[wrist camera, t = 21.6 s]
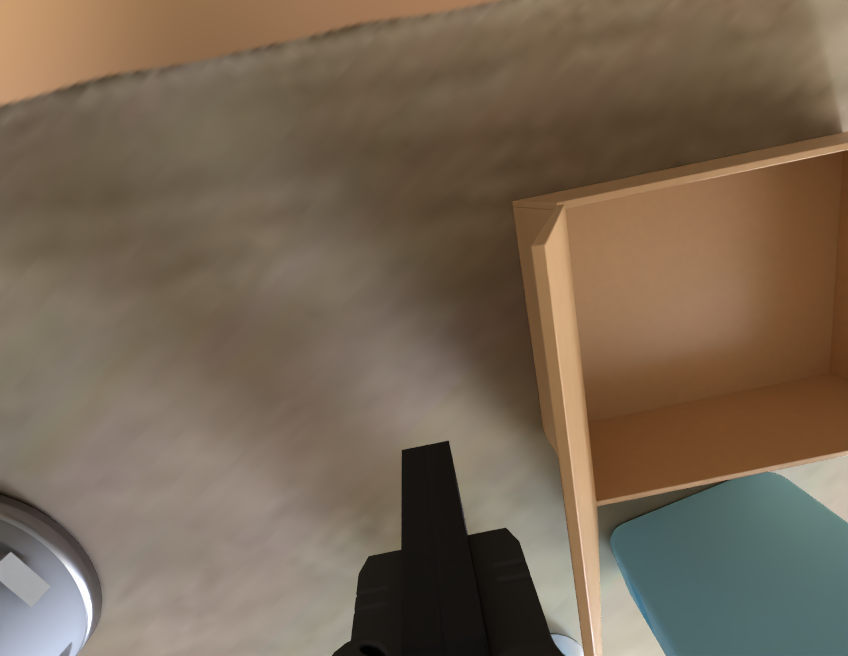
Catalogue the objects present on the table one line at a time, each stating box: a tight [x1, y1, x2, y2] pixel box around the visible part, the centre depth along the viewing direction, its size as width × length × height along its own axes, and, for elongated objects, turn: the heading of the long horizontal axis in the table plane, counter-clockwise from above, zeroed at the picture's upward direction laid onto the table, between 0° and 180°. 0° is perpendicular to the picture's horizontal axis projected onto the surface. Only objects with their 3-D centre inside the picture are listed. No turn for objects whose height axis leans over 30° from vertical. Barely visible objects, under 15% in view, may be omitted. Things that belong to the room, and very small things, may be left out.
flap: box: [531, 204, 602, 656], centre depth 15 cm, size 9×14×1 cm
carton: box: [512, 132, 848, 506], centre depth 23 cm, size 19×15×7 cm
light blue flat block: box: [610, 472, 848, 656], centre depth 26 cm, size 12×4×12 cm, turn 115°
